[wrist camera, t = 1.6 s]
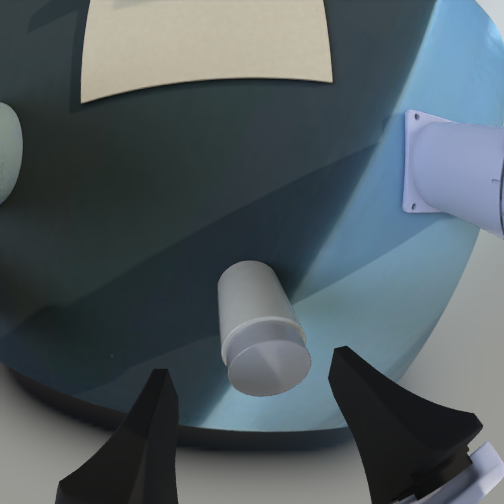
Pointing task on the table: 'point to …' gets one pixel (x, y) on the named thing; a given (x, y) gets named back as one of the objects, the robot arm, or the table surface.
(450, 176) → the robot arm
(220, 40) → the cream square board
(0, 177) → the embossed grey planter pot
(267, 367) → the salt shaker
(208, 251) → the table surface
